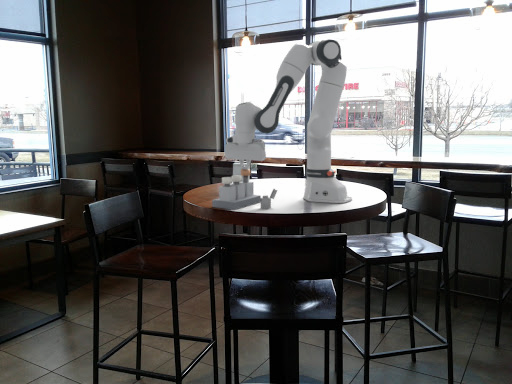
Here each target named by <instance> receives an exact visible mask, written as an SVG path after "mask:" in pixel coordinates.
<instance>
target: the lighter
mask: <svg viewBox="0 0 512 384" xmlns="http://www.w3.org/2000/svg"><path fill="white" fill-rule="evenodd" d="M277 193H278V189H275V188H273V189H272V191H271V194H270V196H269V195H266V194H265V195H263V196H262V197H261V202H260V209H271V208H272V204H271V203H272V202H271V201H272V200H274V199H275V197H276V195H277Z"/></svg>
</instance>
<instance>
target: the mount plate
mask: <svg viewBox="0 0 512 384" xmlns="http://www.w3.org/2000/svg"><path fill="white" fill-rule="evenodd" d="M239 184H240V185H234V184H233V183H232V184H230V187H224V185H221V186H218V195H219V197H218V198H215V199H212V201H211V202H212V204H211V205H212V208H217V209H218V208H219V209H227V210H233V211H235V210H239V209H241V208H244V207H245V208H246V207H249V206H252V205H256V204H259V203H261V198H262V197H261V195H260V194H258V195H257V194H254V182H253V181H249V182H248V183H243V182H239Z"/></svg>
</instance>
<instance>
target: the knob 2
mask: <svg viewBox="0 0 512 384" xmlns="http://www.w3.org/2000/svg"><path fill="white" fill-rule="evenodd" d="M241 176H243V183H248V176H249V177H250V176H251V169H250V170H241Z"/></svg>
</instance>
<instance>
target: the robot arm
mask: <svg viewBox="0 0 512 384" xmlns="http://www.w3.org/2000/svg"><path fill="white" fill-rule="evenodd" d="M311 65H312V66H320V68H321V76H320V80H319V83H318V86H317V90H316V94H315V96H314V100H313V103H312V104H313V105H312V109H311V112H310V114H309V120H308V121H307V124H306V169H305V179H306V181H305V182H306V183H305V190H304V195H303V199H304V200H306V201H307V202H312V203H313V202H315V203H331V204H344V203H349V202H350V201H353V200H352V199H353V198H352V196H350V195H349V196H348V192H347V187H346V185H345V184H343V183H342V182H341V181H340V180H339V179H337V178H336V177H335V174H336V173H337V172H336V170H334V169H332V144H331V143H332V140H331V139H332V136H331V134H332V131H333V127H334V124H335V119H336V116H337V112H338V109H339V103H340V102H341V101H340V100H341V97H342V93H343V90H344V86H345V83H346V77H347V67H348V66H347V65H346V63H345V62H343V61H342V49H341V46H340V43H339V41H338V40H336V39H334V38H330V37H325V38H320V39H317V40H315V41H312V42H311V43H309V44H306V43H302V42H298V43H295V44H294V45H293V46H292V47H291V48H290V50H289V51H288V52H287V53H286V55H285V57H284V58H283V60H282V62H281V63H280V66H279V67H278V72H277V73H276V84H275V88H274V89H273V90H274V91H273V92H272V94H271V96H270V98H269V100H268V101H267V104H266V105H265V106H264V107H260V106H259V105H257V104H255V103H254V102H252V101H246V102H242V103H239V104H238V105H236V107H235V112H234V113H235V114H234V125H235V131H234V135H231V136H229V137H226V138H225V148H224V156H225V159H227V160H238V163H240V164H241V169H242V170H249V165H250V166H251V163H252V161H257V162H258V161H259V162H261V161H262V162H263V161H265V160H266V158H267V154H266V153H267V152H266V143H265V141H264V140H263V139H258V138H257V139H256V131H259V132H260V133H261V134H270V133H272V132H274V131H276V129H277V127H278V126H279V121H280V120H279V119H280V113H281V110H282V108H283V107H284V105H285V103H286V101H287V99H288V97H289V96H290V95H291V92H293V90H294V89H296V87H297V86H298V84H299V83H300V82H301V80H302V79H303V77H304V76H305V74H306V72H307V70H308V68H309V66H311ZM244 163H247V164H246V166H245V165H244Z"/></svg>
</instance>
